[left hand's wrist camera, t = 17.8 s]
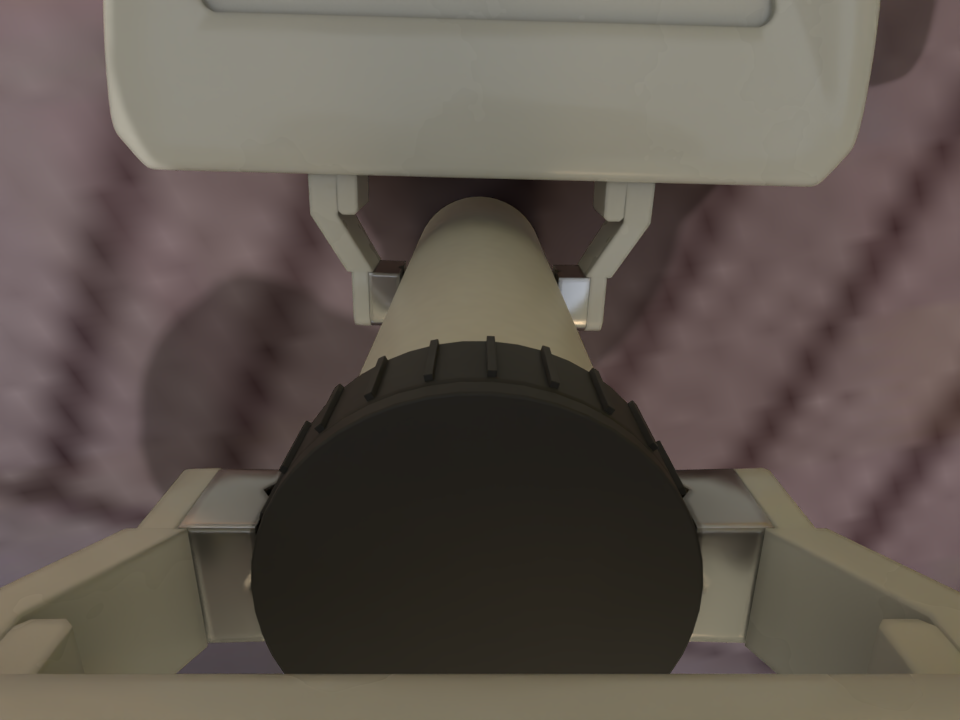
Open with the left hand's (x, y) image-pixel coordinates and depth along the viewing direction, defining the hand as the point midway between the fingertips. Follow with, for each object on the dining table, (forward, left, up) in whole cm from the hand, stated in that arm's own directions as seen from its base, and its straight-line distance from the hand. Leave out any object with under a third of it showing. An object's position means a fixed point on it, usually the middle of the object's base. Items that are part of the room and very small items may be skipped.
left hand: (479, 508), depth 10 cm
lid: (0, 0, +2) cm, 2 cm away
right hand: (-1, 0, -12) cm, 12 cm away
